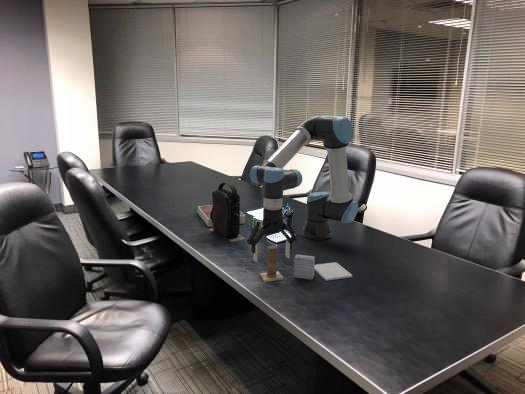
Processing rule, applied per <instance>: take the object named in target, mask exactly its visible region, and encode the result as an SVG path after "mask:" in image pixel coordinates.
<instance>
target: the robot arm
mask: <svg viewBox="0 0 525 394" xmlns="http://www.w3.org/2000/svg"><path fill="white" fill-rule="evenodd" d="M353 135H354V126H353V123H352V121H351V120H350V119H349V118H348V117H347V116H341V115H321V114H318V115H317V114H315V115H313V116H311V117H308V118H306V119H304V120H303V121H302V122H300V123H299V124H298V125H297V126H295V128H294V129H293V131H292V133H291V135H290V136H289V137H288V138H286V140H284V142H283V143H282V144H281V145H280V146H279V147H278V148H277V149H276V150H275V151H274V152H273V153H272V155H270V157H268V158H267V159H266V160H265V162H264V163H262V164H261V165H260V164H259V165H254V166H252V167H251V168H250V171H249V178H250V181H251V182H252V183H255V184H259V185H263V201H262V202H263V204H262V205H263V210H262V220H258V219H255V221H254V226H253V228H252V230H251V231H250V234H249V236H248V238H247V240H246V244H248V246H250V247H251V249H250V251H251V252H250V253H252V254H253V261H254V262H256V263H257V262H258V248H259V247H258V245H257V244H258V243H259V242H260V241H261V239H262V238H263V237H264V235H266V234H267V233H268V232H278V231H279V232H281V234H282V236H284V237H285V238H286V241H285V253H284V255H285V257H286V258H287V259H290V251H291V250H292V249H293V248H292V247H293V243H294V241H297V239H298V238H297V236H296V234H295V232H294V230H293V228H292V226H291V220H290V218H288V217H285V218H283V211H284V209H283V204H284V191H288V190H292V189H296V188H298V187H299V186H300V185H302V183H303V175H302V173H301V171H299V170H298V169H295V168H293V169H292V168H290V169H284V168H285V167H286V166H287V165H288V163H289V162H290V161H291V160H292V159H293V158H294V157H296V155H297V154H298V153H299V152H300V150H301V149H303V147H305V146H307V145H309V144H310V143H311V142H315V141H319V142H320V141H321V142H322V144H323V148H324V149H325V150H326V151H327V161H328V162H327V163H328V172H329V182H330V192H328V191H315V192H310V193H309V194H307V197H306V213H305V215H306V218H305V223H304V225H303V228H302V231H301V232H302V234H301V235H302V237H304V238H306V239H309V240H314V241H324V240H328V239H330V238H331V237H332V231H331V227H330V223H329V220H331V221H335V222H340V223H342V224H351V223H352V222H353V221H354V220H355V218H356V216H357V213H358V210H359V203H358V202H357V201H356V200H354V197H353V194H352V193H351V192H350V187H349V184H350V183H349V173H348V159H347V147H348V146H349V144H350V142H351V141H352V139H353V137H354V136H353ZM283 224H284V225H285V226H286V228H287V229H286V230H287V231H288V233H289V234H288V233H287V232H286V231H285V230H284V229H283V227H282V225H283ZM262 225H263V226H262ZM261 226H262V227H261ZM260 227H261V229H260V231H259V228H260ZM258 231H259V232H258ZM289 235H290V236H289Z"/></svg>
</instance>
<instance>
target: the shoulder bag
mask: <svg viewBox="0 0 525 394" xmlns="http://www.w3.org/2000/svg"><path fill="white" fill-rule="evenodd" d="M225 185H228V187H229V188H230V189H226V188H224V186H225ZM211 197H212V205H213V206H212V210H211V213H210V219H211V220H212V223H213V227H212V228H209V231H211V232H212V233H215V234H216V235H218V236H220V237H221V238H224V239H226V240H227V241H228V242H230V243H231V242H232V243H233V242H236V241H241V240H245V239H246V237H244V236H242V235H241V234H240V230H241V229H240V228H241V227H240V212H241V210H240V209H241V208H240V207H241V197H240V194H239V193H238V190H237V188H236V186H235V185H234V184H233V182H229V181H227V182H226V181H223V182H222V183H220V184H219V185H218V188H217V189H216V190H215V191H214V190H213V191H212V192H211Z"/></svg>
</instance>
